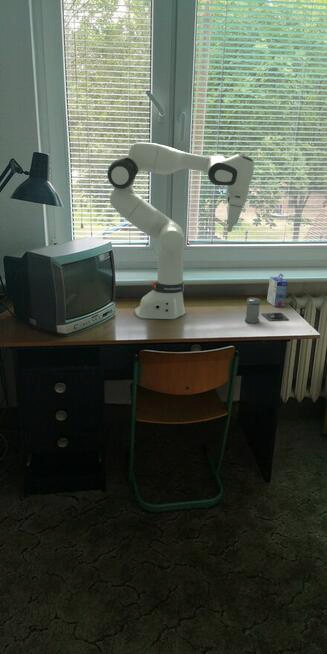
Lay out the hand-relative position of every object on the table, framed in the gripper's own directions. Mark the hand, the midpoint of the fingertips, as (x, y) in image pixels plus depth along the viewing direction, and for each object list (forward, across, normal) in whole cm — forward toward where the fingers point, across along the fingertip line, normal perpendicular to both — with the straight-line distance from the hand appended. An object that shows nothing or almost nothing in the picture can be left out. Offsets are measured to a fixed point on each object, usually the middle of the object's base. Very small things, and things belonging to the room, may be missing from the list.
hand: (228, 227), depth 208 cm
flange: (+32, +12, +28) cm, 44 cm away
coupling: (+32, +19, +17) cm, 41 cm away
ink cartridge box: (+36, -8, +31) cm, 48 cm away
